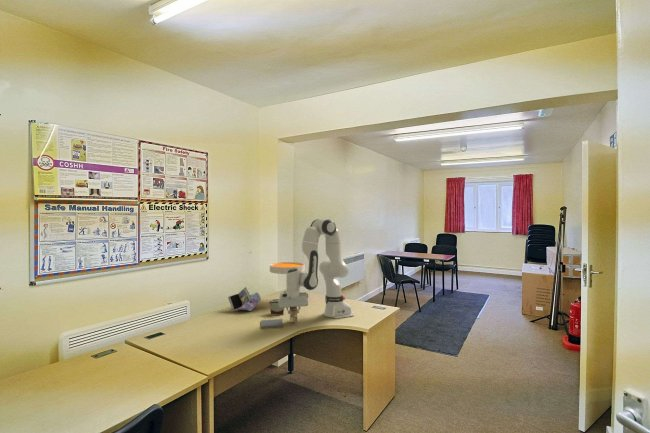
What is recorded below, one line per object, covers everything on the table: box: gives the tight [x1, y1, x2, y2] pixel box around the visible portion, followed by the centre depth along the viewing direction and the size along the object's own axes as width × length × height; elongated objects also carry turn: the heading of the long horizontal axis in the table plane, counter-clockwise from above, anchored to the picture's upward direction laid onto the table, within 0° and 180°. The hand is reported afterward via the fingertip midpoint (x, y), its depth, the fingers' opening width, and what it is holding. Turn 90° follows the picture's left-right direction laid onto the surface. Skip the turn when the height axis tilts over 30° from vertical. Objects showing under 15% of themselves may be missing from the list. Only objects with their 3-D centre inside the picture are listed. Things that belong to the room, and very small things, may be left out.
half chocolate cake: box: [268, 298, 285, 316], centre depth 246 cm, size 12×6×10 cm, turn 84°
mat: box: [260, 318, 284, 330], centre depth 222 cm, size 14×14×1 cm
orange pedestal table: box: [269, 261, 306, 275], centre depth 279 cm, size 30×30×31 cm
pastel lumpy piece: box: [227, 286, 262, 312], centre depth 256 cm, size 20×22×18 cm
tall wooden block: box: [289, 307, 298, 323], centre depth 226 cm, size 5×9×9 cm, turn 10°
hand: (293, 313), depth 226 cm, fingers closed on tall wooden block, 5 cm apart
